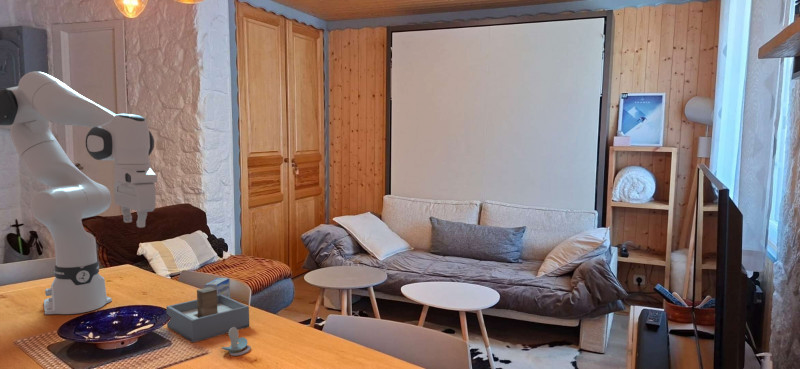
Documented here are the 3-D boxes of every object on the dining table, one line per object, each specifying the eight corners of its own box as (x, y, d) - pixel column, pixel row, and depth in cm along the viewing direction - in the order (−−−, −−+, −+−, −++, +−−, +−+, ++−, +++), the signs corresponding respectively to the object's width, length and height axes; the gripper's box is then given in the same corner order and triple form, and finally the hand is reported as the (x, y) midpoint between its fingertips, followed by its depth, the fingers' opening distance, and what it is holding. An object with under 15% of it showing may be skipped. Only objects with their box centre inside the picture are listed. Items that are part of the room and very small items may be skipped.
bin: (167, 326, 158) (166, 306, 157) (221, 313, 169) (220, 294, 169) (192, 342, 146) (192, 320, 145) (249, 326, 157) (248, 306, 157)
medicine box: (217, 312, 170) (217, 284, 169) (204, 311, 171) (203, 284, 170) (230, 304, 178) (229, 278, 177) (218, 303, 179) (217, 277, 178)
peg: (198, 323, 157) (196, 289, 156) (211, 320, 160) (210, 286, 159) (204, 327, 155) (203, 292, 154) (217, 324, 157) (216, 289, 156)
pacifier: (256, 348, 142) (237, 344, 145) (256, 325, 142) (237, 321, 144) (237, 359, 136) (218, 355, 138) (237, 335, 135) (218, 331, 137)
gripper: (107, 171, 154) (108, 220, 156) (134, 177, 140) (136, 231, 141) (130, 170, 159) (132, 218, 160) (159, 176, 144) (161, 228, 146)
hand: (134, 224), depth 151 cm, fingers open, 8 cm apart
